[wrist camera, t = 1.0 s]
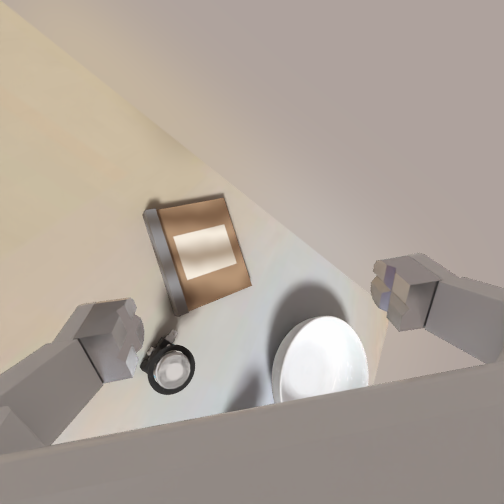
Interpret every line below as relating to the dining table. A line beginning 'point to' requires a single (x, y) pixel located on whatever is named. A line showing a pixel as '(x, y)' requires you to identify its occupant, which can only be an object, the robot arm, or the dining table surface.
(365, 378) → the serving bowl
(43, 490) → the robot arm
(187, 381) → the push button
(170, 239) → the brown board with label
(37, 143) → the dining table surface
